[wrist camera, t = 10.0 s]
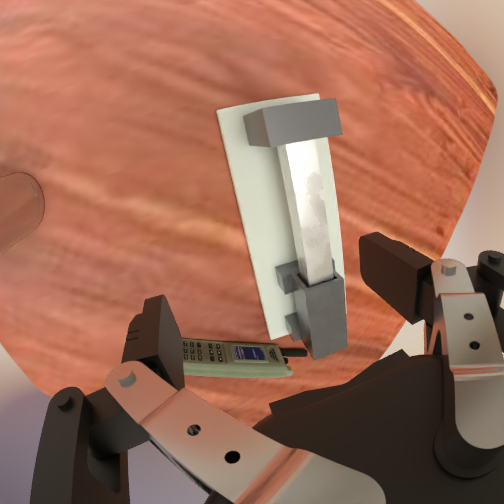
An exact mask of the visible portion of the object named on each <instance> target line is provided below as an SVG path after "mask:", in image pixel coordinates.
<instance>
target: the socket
mask: <svg viewBox="0 0 504 504" xmlns="http://www.w3.org/2000/svg"><path fill="white" fill-rule="evenodd" d="M243 119H244V124H245V128H246V133H247V137H248V142H249V146H259V147H270V148H271V147H276V146H281V145H286V144H291V143H296V142H302V141H307V140H313V139H319V138H325V137H331V136H338V135H343V134H342V128H341V123H340V117H339V112H338V107H337V102H336V98H332V99H322V100H313V101H305V102H298V103H290V104H284V105H277V106H271V107H265V108H261V109H258V110H256V111H254V112H251V113H249V114H247V115H244V116H243Z"/></svg>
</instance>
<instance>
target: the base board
mask: <svg viewBox="0 0 504 504" xmlns="http://www.w3.org/2000/svg"><path fill="white" fill-rule="evenodd" d="M313 100H320V98H319V94H310V95H301V96H293V97H286V98H279V99H272V100H266V101H260V102H254V103H249V104H244V105H239V106H234V107H229V108H224V109H219V110H217V111H216V114H217V118H218V122H219V127H220V131H221V135H222V140H223V144H224V148H225V152H226V157H227V161H228V165H229V169H230V174H231V178H232V182H233V186H234V191H235V195H236V199H237V203H238V208H239V212H240V216H241V220H242V225H243V229H244V233H245V237H246V242H247V246H248V250H249V254H250V259H251V263H252V267H253V271H254V275H255V280H256V284H257V288H258V292H259V296H260V301H261V305H262V309H263V313H264V317H265V322H266V326H267V330H268V334H269V337H270V339H271V340H273V339H276V338H279V337H282V336H285V335H288V334H289V332H288V331H287V327H286V321H285V316H286V315H289V314H292V313H295V312H297V309H296V303H295V297H294V292H292V293H289V294H286V295H285V294H284V292H283V291H282V289H281V288H280V286H279V285H278V280H277V275H276V270H275V266H279V265H282V264H285V263H289V262H292V261H295V260H298V259H297V253H296V247H295V241H294V235H293V229H292V224H291V218H290V212H289V207H288V201H287V196H286V191H285V185H284V180H283V175H282V170H281V165H280V160H279V155H278V150H277V146H276V147H271V148H270V147H259V146H249V142H248V137H247V133H246V128H245V124H244V119H243V116H244V115H247V114H249V113H251V112H254V111H256V110H258V109H261V108H265V107H271V106H277V105H284V104H290V103H298V102H305V101H313ZM315 144H316V150H317V155H318V161H319V167H320V173H321V180H322V186H323V193H324V200H325V207H326V214H327V222H328V230H329V238H330V247H331V256H332V258H333V259H334V261H335V271H336V272H337V273H338V274H339V275H340V276H342V277H343V278H344V265H343V253H342V242H341V232H340V223H339V214H338V206H337V198H336V191H335V183H334V176H333V170H332V163H331V157H330V151H329V145H328V139H327V137H325V138H319V139H315ZM344 286H345V278H344ZM345 302H346V294H345ZM346 314H347V313H346Z"/></svg>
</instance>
